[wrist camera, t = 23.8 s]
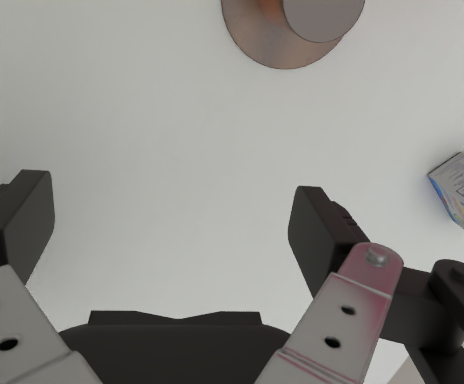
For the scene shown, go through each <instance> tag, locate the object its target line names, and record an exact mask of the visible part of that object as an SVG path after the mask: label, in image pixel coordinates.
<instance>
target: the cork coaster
mask: <svg viewBox="0 0 464 384" xmlns="http://www.w3.org/2000/svg"><path fill="white" fill-rule="evenodd" d="M221 1H222V11H223V15H224V20H225V23H226V26H227V28H228V30H229V32H230V35H231V36H232V38H233V40H234V41H235V43H236V44H237V45H238V46H239V48H240V49H241V50H242V51H243V52H244V53H245V54H246V55H248V56H249V57H250V58H252V59H253V60H255V61H256V62H258V63H260V64H262V65H265V66H268V67H271V68H277V69H295V68H300V67H304V66H306V65H309V64H312V63H314V62H315V61H317V60H319V59H321V58H322V57H323V56H325V55H326V54H328V53H329V52H330V51H331V50H332V49H333V48H334V47H335V46H336V45H337V44H338V43H339V41H340V40H341V39H342V37H343V36H344V35H343V36H341V37H340V38H338V39H336V40H333V41H331V42H326V43H313V42H309V41H306V40H303V39H301V38H299V37H297V36H296V35H295V34H293V33H292V32H289V31H286V30H284V29H281V28H278V27H276V26H274V25H272V24H270V23H269V22H268V21H267V20H266V19H265V18H264V16H263V15H262V13H261V11H260V8H259V5H258V0H221Z"/></svg>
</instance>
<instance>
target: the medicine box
mask: <svg viewBox="0 0 464 384" xmlns="http://www.w3.org/2000/svg"><path fill="white" fill-rule="evenodd" d="M428 177H429V178H430V180H431V182H432V184H433V186H434V187H435V189H436V191H437V193H438V195H439V196H440V198H441V200H442V202H443V204H444V205H445V207H446V209H447V211H448V212H449V214H450V216H451V218H452V220H453V221H454V222H456V223H457V224H458V225H459V226H460V227H462V228H463V229H464V153H463V152H461V153H459V154H458V155H456V156H455V157H453V158H452V159H450V160H449V161H447V162H446V163H444V164H443V165H441V166H440V167H439V168H437V169H436V170H434V171H433V172H431V173H430V174H428Z"/></svg>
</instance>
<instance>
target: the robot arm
mask: <svg viewBox="0 0 464 384" xmlns="http://www.w3.org/2000/svg"><path fill="white" fill-rule="evenodd" d="M54 223H55V213H54V202H53V190H52V179H51V174H50V172H49V171H41V170H24V169H23V170H21V171H20V172H19V173H18V175H17V176H16V177H15V178H14V179H13V180H12V181H11V183H10V184H1V185H0V384H363V382H364V379H365V376H366V373H367V371H368V368H369V365H370V362H371V359H372V356H373V353H374V350H375V347H376V345H377V342H378V339H379V338H382V339H386V340H390V341H393V342H397V343H401V344H404V346H405V348H406V350H407V352H408V353H409V355H410V357H411V359H412V361H413V362H414V364H415V366H416V368H417V369H418V371H419V373H420V375H421V377H422V378H423V380H424V382H425V384H464V348H463V347H462V346H461V345H462V343H463V341H464V263H462V262H459V261H455V260H449V259H443V260H438V261H437V262H435V264H434V266H433V269H432V271H431V273H429V272H424V271H420V270H415V269H411V268H407V267H403V266H404V262H403V260H402V258H401V257H400V255H398V254H397V253H396V252H395V251H393V250H392V249H390V248H388V247H386V246H383V245H380V244H377V243H371V242H370V240H369V239H368V238H367V236H366V235H365V234H364V232H363V231H362V230H361V228H360V227H359V226H357V223H356V222H355V221H354V219H352V217H351V215H350V214H349V213H348V211H347V210H346V209H345V208H344V207H342V206H341V205H339V204H338V203H336V202H335V201H330V199H329V198H328V196H327V195H326V194H325V192H324V191H323V189H322V188H321V187H312V186H298V187H297V189H296V192H295V196H294V201H293V206H292V211H291V216H290V221H289V226H288V240H289V244H290V246H291V248H292V251H293V253H294V255H295V258H296V260H297V262H298V265H299V267H300V269H301V272H302V274H303V276H304V278H305V281H306V283H307V285H308V288H309V290H310V292H311V295H312V297H313V301H312V303H311V304H310V306H309V307H308V309H307V310H306V312H305V313H304V315H303V317H302V318H301V320H300V321H299V323H298V324H297V326H296V328H295V329H294V331H293V332H292V334H289V333H287V332H285V331H283V330H280V329H278V328H275V327H272V326H269V325H264V324H262V321H261V317H260V313H259V312H225V311H220V312H215V313H209V314H204V315H199V316H193V317H188V318H183V319H173V318H168V317H163V316H158V315H153V314H148V313H143V312H138V311H91V314H90V317H89V321H88V324H83V325H79V326H75V327H72V328H69V329H66V330H64V331H61V332H59V333H58V332H57V331H56V330H55V328H54V327H53V325H52V324H51V323H50V321H49V320H48V318H47V317H46V315H45V314H44V313H43V311H42V310H41V308H40V307H39V305H38V304H37V303H36V301H35V300H34V298H33V297H32V296H31V294H30V293H29V291H28V290H27V288H26V287H25V285H26V283H27V281H28V279H29V277H30V275H31V274H32V272H33V270H34V268H35V266H36V264H37V262H38V260H39V258H40V256H41V254H42V253H43V251H44V249H45V247H46V245H47V243H48V241H49V239H50V237H51V235H52V233H53V229H54Z"/></svg>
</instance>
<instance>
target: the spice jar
mask: <svg viewBox="0 0 464 384" xmlns="http://www.w3.org/2000/svg"><path fill="white" fill-rule="evenodd" d="M364 3H365V0H258V5H259V8H260V11H261V13H262V15H263V16H264V18H265V19H266V20H267V21H268V22H269V23H270V24H272V25H274V26H276V27H278V28H281V29H284V30H286V31H289V32H292V33H293V34H295V35H296V36H297V37H299V38H301V39H303V40H306V41H309V42H313V43H326V42H331V41H333V40H336V39H338V38H340V37H341V36H343V35H344V34H346V33H347V32H348V31H349V30H350V29H351V28H352V27H353V26H354V24H355V23H356V21H357V20H358V18H359V16H360V14H361V12H362V10H363V6H364Z"/></svg>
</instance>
